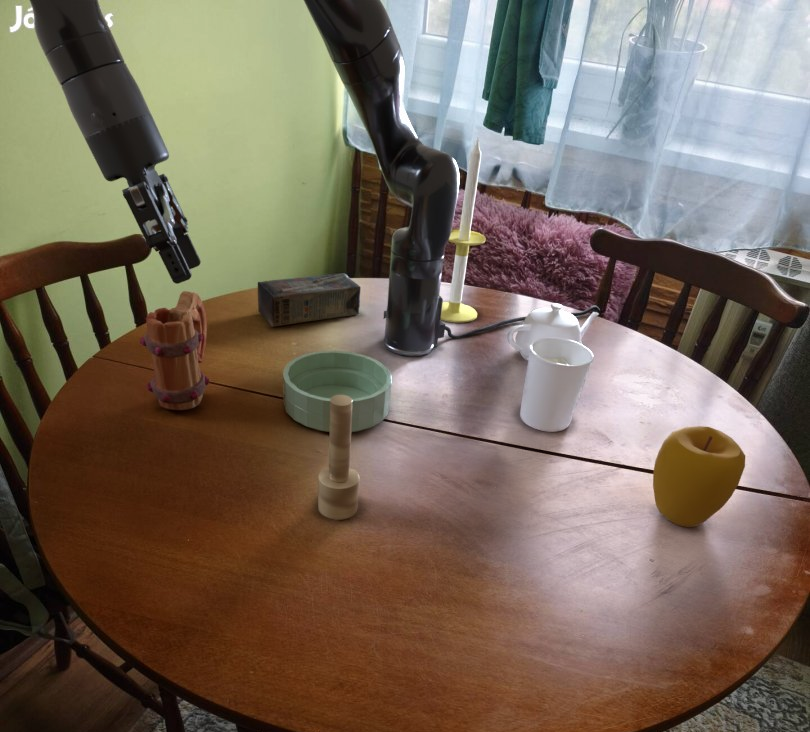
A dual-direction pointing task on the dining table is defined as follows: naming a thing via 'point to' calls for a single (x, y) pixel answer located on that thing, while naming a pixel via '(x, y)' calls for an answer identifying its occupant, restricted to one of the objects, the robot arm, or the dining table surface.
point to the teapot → (547, 328)
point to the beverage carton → (308, 299)
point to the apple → (696, 474)
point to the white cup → (554, 382)
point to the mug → (178, 352)
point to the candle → (464, 246)
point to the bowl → (336, 388)
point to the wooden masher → (339, 465)
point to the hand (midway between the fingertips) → (188, 273)
